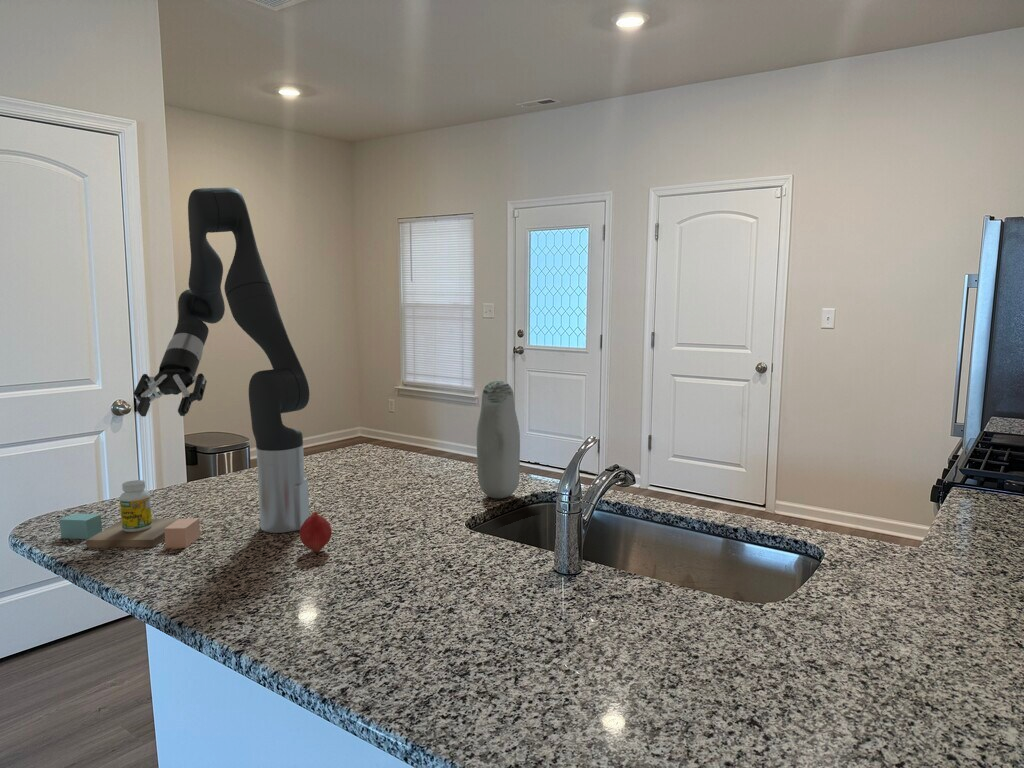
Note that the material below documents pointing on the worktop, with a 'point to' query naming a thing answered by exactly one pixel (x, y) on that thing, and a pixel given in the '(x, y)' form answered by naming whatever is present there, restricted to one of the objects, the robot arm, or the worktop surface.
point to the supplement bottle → (135, 507)
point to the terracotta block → (182, 533)
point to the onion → (315, 532)
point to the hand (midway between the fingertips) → (161, 414)
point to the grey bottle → (498, 441)
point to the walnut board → (130, 536)
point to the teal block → (80, 526)
